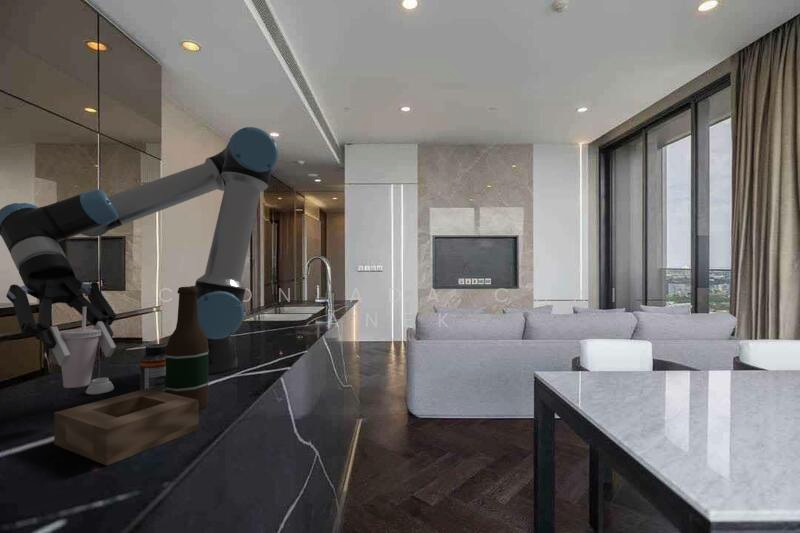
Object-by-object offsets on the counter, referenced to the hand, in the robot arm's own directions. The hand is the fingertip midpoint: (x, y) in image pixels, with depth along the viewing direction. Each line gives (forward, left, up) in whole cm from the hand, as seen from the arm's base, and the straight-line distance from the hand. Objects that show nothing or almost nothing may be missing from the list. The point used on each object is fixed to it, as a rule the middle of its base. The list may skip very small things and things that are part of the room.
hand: (89, 356), depth 69 cm
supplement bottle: (-14, -4, -12) cm, 20 cm away
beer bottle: (-13, +7, -12) cm, 20 cm away
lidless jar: (-11, -20, -13) cm, 27 cm away
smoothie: (0, -3, -6) cm, 7 cm away
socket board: (0, +12, -12) cm, 17 cm away
